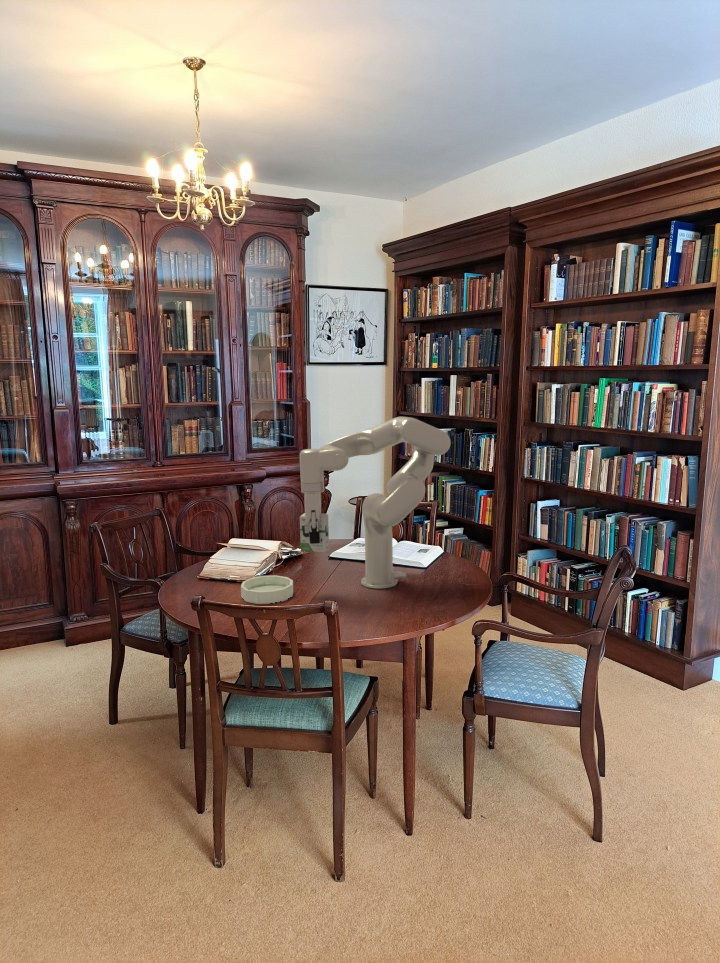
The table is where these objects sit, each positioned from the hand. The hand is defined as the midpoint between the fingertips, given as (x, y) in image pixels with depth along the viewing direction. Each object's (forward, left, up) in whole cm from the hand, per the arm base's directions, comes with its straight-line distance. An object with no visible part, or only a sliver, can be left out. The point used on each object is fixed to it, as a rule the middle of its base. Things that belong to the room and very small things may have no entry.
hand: (315, 540), depth 213 cm
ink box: (0, 0, -3) cm, 3 cm away
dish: (+16, 0, -18) cm, 24 cm away
